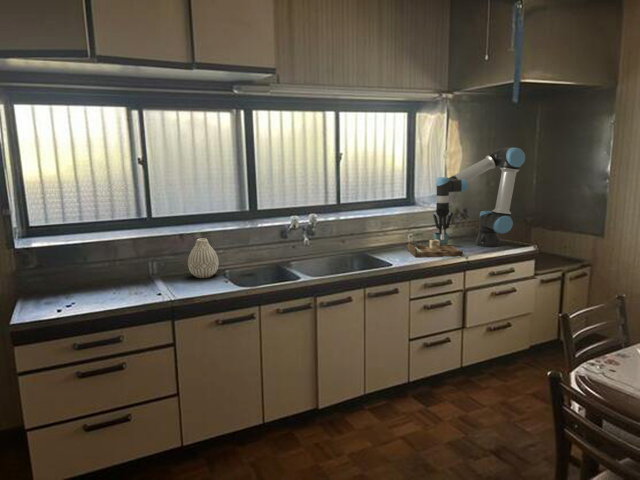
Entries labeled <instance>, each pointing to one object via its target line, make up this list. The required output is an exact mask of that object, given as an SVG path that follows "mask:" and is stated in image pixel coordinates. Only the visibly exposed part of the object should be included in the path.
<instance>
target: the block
mask: <svg viewBox="0 0 640 480" xmlns="http://www.w3.org/2000/svg"><path fill="white" fill-rule="evenodd" d="M429 245H430V248H431V249H440V241H439V240H438V239H435V240H434V239H429Z"/></svg>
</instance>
